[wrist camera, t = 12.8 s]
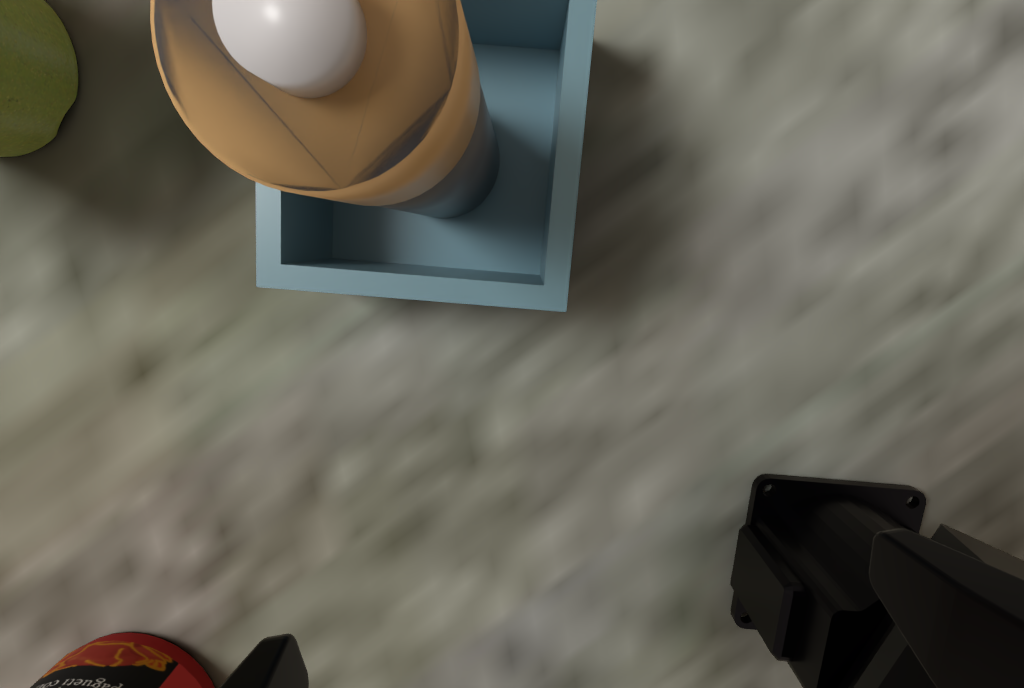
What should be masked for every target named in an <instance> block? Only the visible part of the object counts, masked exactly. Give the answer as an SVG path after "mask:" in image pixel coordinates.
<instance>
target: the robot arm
mask: <svg viewBox="0 0 1024 688" xmlns="http://www.w3.org/2000/svg"><path fill="white" fill-rule="evenodd" d="M769 484H771V486H772V487H771V489H770V490H769V491H768V492H763V488H764V487H765V486H766V485H769ZM910 497H912V500H911V502H909V503H907V504H906V501H907V499H908V498H910ZM925 505H926V498H925V496H924V494H922V493H921V492H920V491H918V490H917V489H915V488H914V487H911V486H905V485H893V484H881V483H869V482H856V481H844V480H832V479H820V478H808V477H796V476H784V475H772V474H763V475H760V476H758V477H757V478H756V479H755V480H754V482H753V484H752V489H751V495H750V501H749V506H748V512H747V518H746V524H745V525H743V526H742V528H741V529H740V530H739V535H738V541H737V547H736V553H735V559H734V565H733V571H732V577H731V586H732V588H733V590H734V594H733V600H732V606H731V615H732V617H733V619H734V621H735V623H736V625H738V626H739V627H741V628H744V629H755V630H758V632H759V634H760V635H761V637H762V639H763V640H764V642H765V644H766V645H767V647H768V649H769V651H770V652H771V653H772V655H773V656H774V657H775V658H776V659H777V660H779V661H787V662H788V664H789V665H790V667H791V669H792V670H793V672H794V673H795V675H796V677H797V678H798V680H799V682H800V683H801V685H802V686H803V688H1024V561H1023V560H1021V559H1018V558H1016V557H1014V556H1012V555H1010V554H1007V553H1005V552H1003V551H1001V550H999V549H996V548H994V547H992V546H990V545H988V544H985V543H983V542H981V541H979V540H977V539H974V538H972V537H970V536H968V535H966V534H963V533H961V532H959V531H957V530H955V529H952V528H950V527H948V526H946V525H944V524H941V525H940V526H939V528H938V529H937V531H936V532H935V534H934V535H933V537H932V538H931V539H932V540H931V539H929V538H926V537H924V536H922V535H920V534H919V530H920V526H921V522H922V517H923V513H924V509H925ZM744 612H747V613H748V615H746V616H744V617H741V615H742V614H743V613H744ZM308 686H309V681H308V673H307V669H306V667H305V664H304V661H303V658H302V655H301V652H300V650H299V647H298V644H297V641H296V639H295V637H294V636H293V635H291V634H283V635H277V636H272V637H267V638H264V639H263V640H262V641H260V642H259V643H258V644H257V646H256V647H255V648H254V649H253V650H252V651H251V652H250V653H249V655H248V656H247V657H246V658H245V659H244V660H243V661H242V663H241V664H240V665H239V666H238V667H237V668H236V669H235V670H234V672H233V673H232V674H231V675H230V676H229V677H228V678H227V679H226V681H225V682H224V683H223V684H222V685H221V686H220V687H219V688H308Z"/></svg>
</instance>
